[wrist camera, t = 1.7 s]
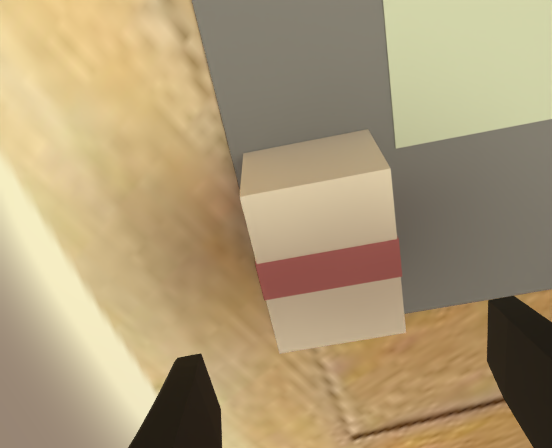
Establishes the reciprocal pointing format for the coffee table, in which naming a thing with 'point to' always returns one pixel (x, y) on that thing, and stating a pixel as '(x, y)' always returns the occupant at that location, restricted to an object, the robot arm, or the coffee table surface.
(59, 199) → the coffee table surface
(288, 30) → the mat
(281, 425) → the coffee table surface
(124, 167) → the coffee table surface
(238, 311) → the coffee table surface
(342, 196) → the card deck
